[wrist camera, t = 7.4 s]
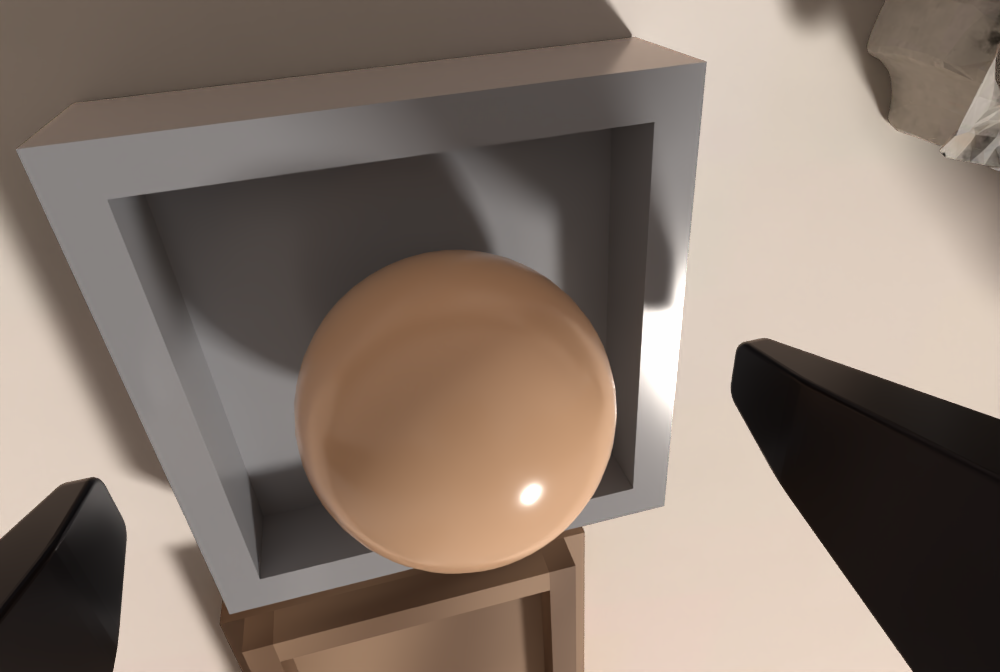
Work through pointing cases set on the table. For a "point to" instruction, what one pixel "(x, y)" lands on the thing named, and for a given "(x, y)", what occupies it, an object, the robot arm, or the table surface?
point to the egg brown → (455, 411)
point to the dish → (366, 257)
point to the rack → (428, 621)
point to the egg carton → (943, 73)
